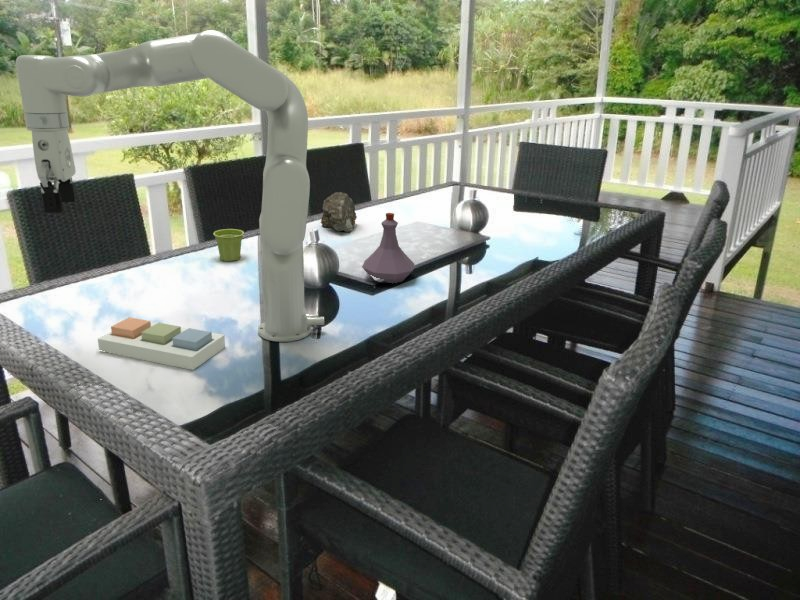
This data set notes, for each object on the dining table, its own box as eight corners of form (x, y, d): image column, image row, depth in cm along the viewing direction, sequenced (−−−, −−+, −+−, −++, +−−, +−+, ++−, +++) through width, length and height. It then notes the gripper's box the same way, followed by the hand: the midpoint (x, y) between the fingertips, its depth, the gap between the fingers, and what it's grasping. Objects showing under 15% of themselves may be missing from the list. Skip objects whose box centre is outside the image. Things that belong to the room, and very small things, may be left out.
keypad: (225, 347, 142) (224, 334, 141) (193, 370, 131) (191, 357, 130) (136, 330, 149) (135, 318, 148) (99, 351, 138) (97, 338, 137)
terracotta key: (151, 330, 143) (150, 321, 142) (133, 339, 138) (132, 330, 137) (130, 326, 145) (129, 317, 144) (112, 335, 140) (110, 326, 139)
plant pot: (249, 255, 207) (247, 229, 203) (239, 264, 198) (238, 237, 195) (221, 253, 207) (219, 228, 204) (210, 262, 199) (208, 235, 195)
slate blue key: (212, 341, 139) (211, 332, 138) (196, 351, 133) (195, 342, 133) (189, 337, 140) (188, 328, 139) (173, 347, 135) (172, 338, 134)
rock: (358, 188, 231) (322, 177, 235) (342, 221, 227) (305, 209, 230) (367, 212, 248) (333, 202, 252) (352, 244, 244) (318, 232, 247)
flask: (350, 281, 186) (350, 215, 179) (377, 267, 200) (379, 205, 192) (399, 292, 179) (401, 223, 172) (424, 276, 193) (427, 212, 186)
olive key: (181, 335, 141) (180, 326, 140) (164, 345, 136) (163, 336, 135) (159, 331, 142) (158, 322, 142) (142, 341, 137) (141, 332, 137)
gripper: (55, 126, 117) (69, 216, 124) (78, 118, 133) (90, 198, 139) (11, 126, 116) (27, 217, 122) (39, 117, 131) (53, 198, 138)
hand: (60, 206), depth 131 cm, fingers open, 9 cm apart
